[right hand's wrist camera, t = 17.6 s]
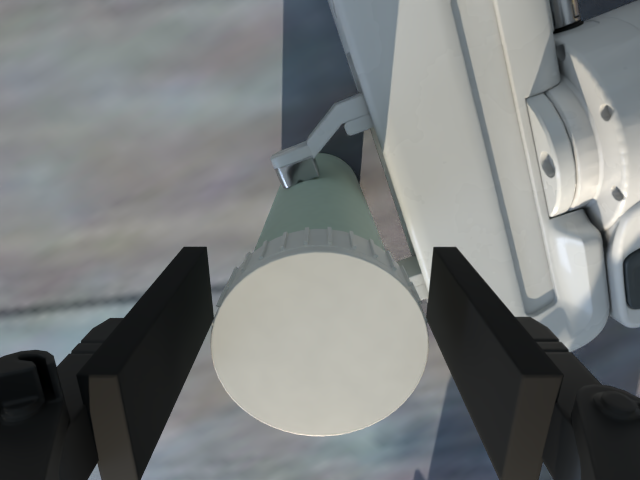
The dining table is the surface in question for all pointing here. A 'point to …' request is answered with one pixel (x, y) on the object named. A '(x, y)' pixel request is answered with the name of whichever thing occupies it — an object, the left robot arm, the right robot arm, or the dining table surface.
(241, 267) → the lid
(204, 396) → the dining table surface
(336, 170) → the jar
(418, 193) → the left robot arm
